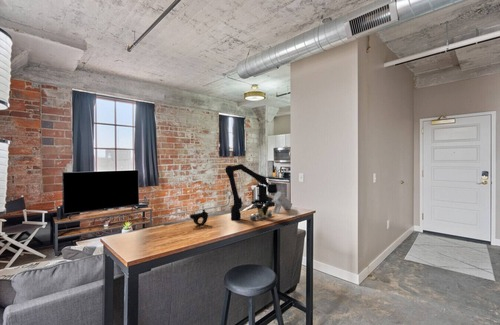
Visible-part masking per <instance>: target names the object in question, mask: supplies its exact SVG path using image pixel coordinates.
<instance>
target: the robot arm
mask: <svg viewBox="0 0 500 325" xmlns="http://www.w3.org/2000/svg"><path fill="white" fill-rule="evenodd" d="M224 170H225V174H226V176H227V178H228V180H229V184H230V188H231V193H232V196H233V205H232V206H231V209H230V220H231V221H240V220H241V219H242V217H241V215H242V213H241V212H240V211H241V210H240V209H241V208H242V207H243V205H244V204H243V201H242V199H243V198H242V197H241V196H240V195H239V192H238V188H237V182H236V180H235V179H236V178H235V172H236V171H240V170H241V171H242V172H244V173H246V175H249V176H250V177H252V178H253V179H255V180H256V181H257V182H258V183H257V185H256V186H255V187H256V188H258V194H257V197H258V198H257V199H251V205H254V206H255V207H256V209H257V210H258V208H261V207H263V211H264V215H266V213H267V210H268V211H269V208H271V207H275V205H276V202H273V197H270V196H269V195H268V194H275V193H277V191H278V186H277V183H269V182H268V179H267V178H266V176H264V175H262V174H259V173H256V172H255V171H254V170H251V169H250V168H248V167H247V166H245V165H244V163H239V164H236V165H227V166H225V168H224ZM267 193H268V194H267Z"/></svg>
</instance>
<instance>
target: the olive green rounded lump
mask: <svg viewBox="0 0 500 325" xmlns="http://www.w3.org/2000/svg"><path fill="white" fill-rule="evenodd" d="M268 211H269V209H268V210H267V213H266V215H264V211H263V206H262V207H261V208H258V209H257V213H259V218H260V217H262V218H263V217H268Z"/></svg>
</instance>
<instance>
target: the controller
mask: <svg viewBox="0 0 500 325" xmlns="http://www.w3.org/2000/svg"><path fill="white" fill-rule="evenodd" d="M208 214H209V212H206V209H202V210H201V212H198V213H192V214H190V215H189V218H190V219H192V220H193V223H194V224H195V225H196V226H203V225H205V224H206V223H207V221H208V218H209V215H208ZM201 218H202V221H201V222H199V219H201Z"/></svg>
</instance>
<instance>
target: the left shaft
mask: <svg viewBox="0 0 500 325" xmlns="http://www.w3.org/2000/svg"><path fill="white" fill-rule="evenodd" d="M256 218H260V217H259V213H258V212H255V213H252V214H250V215H249V219H250V221H252V222H256V221H257V219H256Z"/></svg>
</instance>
